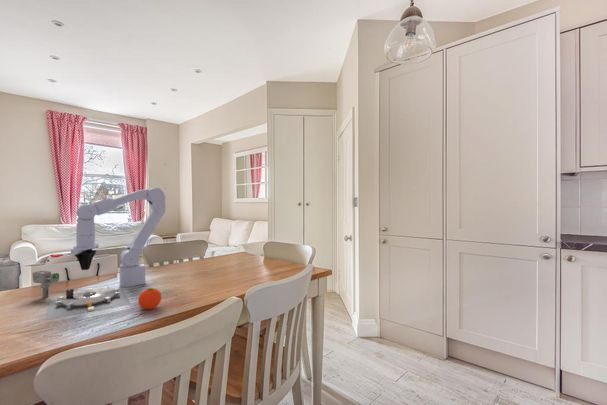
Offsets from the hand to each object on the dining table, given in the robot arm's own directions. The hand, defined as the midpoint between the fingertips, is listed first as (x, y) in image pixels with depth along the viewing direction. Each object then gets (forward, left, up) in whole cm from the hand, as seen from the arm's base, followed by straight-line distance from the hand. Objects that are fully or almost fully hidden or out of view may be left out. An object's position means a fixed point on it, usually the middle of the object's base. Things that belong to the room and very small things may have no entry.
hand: (85, 269), depth 110 cm
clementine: (-17, +32, -10) cm, 37 cm away
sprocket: (-1, +13, -8) cm, 16 cm away
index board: (-1, +15, -9) cm, 17 cm away
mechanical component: (+12, 0, -10) cm, 15 cm away
